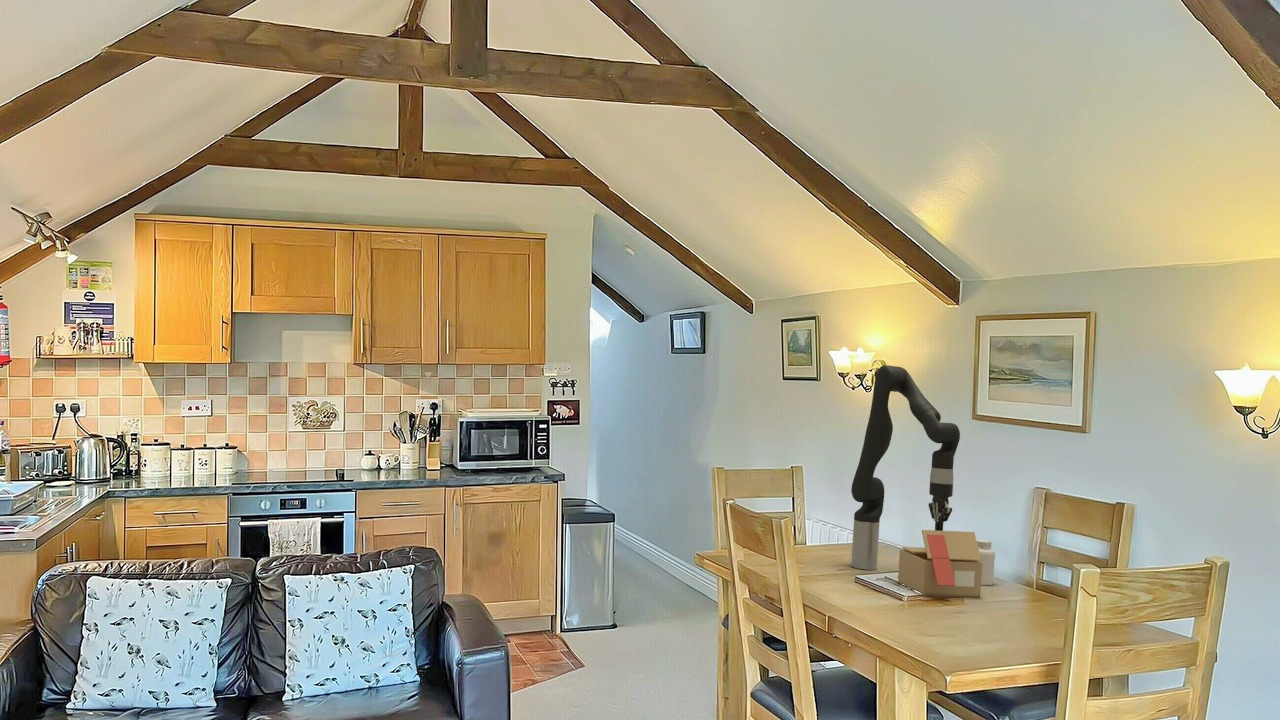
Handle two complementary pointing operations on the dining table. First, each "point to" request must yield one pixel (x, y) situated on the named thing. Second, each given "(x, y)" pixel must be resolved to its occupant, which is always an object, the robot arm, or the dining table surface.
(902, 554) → the carton
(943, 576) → the flap
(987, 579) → the pill bottle
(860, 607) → the dining table surface
